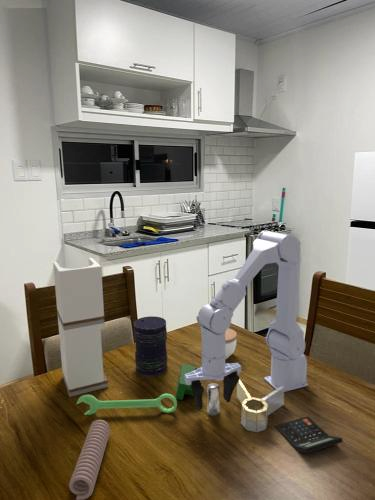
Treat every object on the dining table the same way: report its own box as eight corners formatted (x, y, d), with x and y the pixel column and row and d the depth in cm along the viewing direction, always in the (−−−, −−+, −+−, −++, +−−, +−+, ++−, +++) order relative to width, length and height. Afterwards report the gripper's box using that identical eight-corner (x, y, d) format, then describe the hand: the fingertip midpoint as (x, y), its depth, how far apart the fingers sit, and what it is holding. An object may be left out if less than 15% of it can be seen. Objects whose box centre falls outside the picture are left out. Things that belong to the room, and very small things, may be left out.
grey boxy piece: (108, 386, 108) (101, 266, 101) (69, 396, 104) (59, 271, 96) (98, 368, 118) (91, 257, 111) (62, 376, 114) (53, 262, 106)
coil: (89, 418, 88) (65, 481, 70) (109, 416, 88) (90, 478, 70) (92, 436, 89) (69, 502, 71) (112, 434, 89) (94, 500, 71)
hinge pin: (216, 407, 98) (216, 382, 97) (221, 413, 96) (221, 388, 94) (205, 409, 97) (205, 384, 96) (210, 416, 95) (210, 390, 93)
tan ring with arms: (266, 389, 106) (267, 372, 105) (299, 419, 93) (300, 400, 92) (221, 400, 101) (221, 383, 100) (250, 434, 88) (250, 414, 87)
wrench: (76, 417, 95) (74, 398, 94) (78, 412, 97) (76, 393, 96) (177, 414, 96) (177, 395, 95) (177, 409, 98) (176, 390, 97)
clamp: (192, 411, 103) (199, 393, 98) (172, 406, 103) (178, 388, 98) (198, 377, 112) (204, 359, 107) (179, 372, 112) (184, 354, 108)
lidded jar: (238, 363, 120) (238, 335, 118) (204, 363, 120) (204, 335, 119) (234, 348, 131) (235, 322, 129) (203, 348, 131) (203, 322, 129)
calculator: (307, 419, 94) (308, 408, 93) (341, 451, 83) (342, 439, 83) (274, 428, 91) (275, 417, 90) (305, 462, 80) (306, 450, 79)
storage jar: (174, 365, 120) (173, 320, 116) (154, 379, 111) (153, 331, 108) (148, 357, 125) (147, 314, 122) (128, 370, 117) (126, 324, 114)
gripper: (192, 366, 87) (192, 420, 90) (247, 355, 92) (246, 405, 95) (181, 353, 93) (181, 403, 96) (233, 343, 99) (232, 390, 101)
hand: (213, 403), depth 96 cm, fingers open, 7 cm apart
